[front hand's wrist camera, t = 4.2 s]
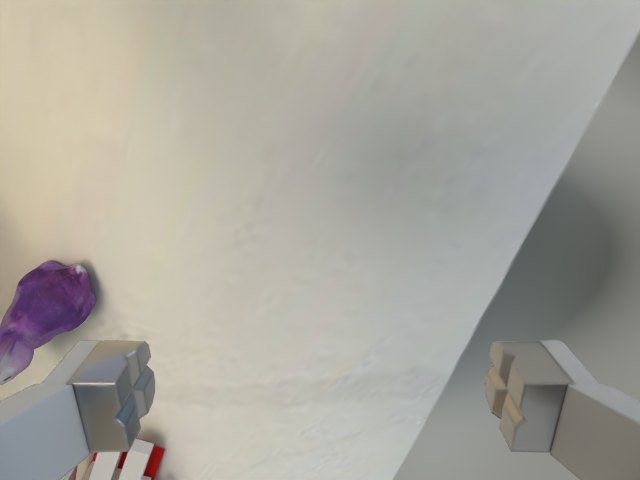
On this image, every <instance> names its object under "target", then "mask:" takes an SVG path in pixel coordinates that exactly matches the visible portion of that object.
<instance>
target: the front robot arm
mask: <svg viewBox="0 0 640 480" xmlns="http://www.w3.org/2000/svg"><path fill="white" fill-rule="evenodd" d="M489 357H490V359H491V361H492V363H493V366H492V367H491V368H490V369H489V370H488V371H487V372H486V378H485V393H486V399H487V402H488V405H489V408H490V410H491V412H492V413H493V414H494V415H495V416H497V417H498V418H500V419H501V421H500V427H499V428H500V430H501V432H502V434H503V436H504V438H505V441H506V443H507V445H508V447H509V449H510V450H511V452H547V453H550V455H551V456H553V457H554V458H555V459H556V460H557V461H559V462H560V463H561V464H562V465H563V466H565V467H566V468H567V469H568V470H569V471H570V472H572V473H573V474H574V475H575V476H576V477H577V478H579V479H580V480H640V401H638V400H636V399H634V398H632V397H630V396H628V395H626V394H624V393H622V392H620V391H618V390H616V389H614V388H612V387H610V386H608V385H599V383H598V382H597V381H596V380H595V379H594V378H593V377H592V375H591V374H590V373H589V372H588V371H587V370H586V368H585V367H584V366H583V365H582V364H581V363H580V362H579V360H578V359H577V358H576V357H575V356H574V355H573V354H572V352H571V351H570V350H569V349H568V348H567V347H566V345H565V344H564V343H563V342H561V341H559V340H542V341H513V342H493V344H492V346H491V348H490V354H489ZM150 358H151V354H150V349H149V345H148V344H147V343H146V342H145V341H110V340H104V341H102V340H83V341H79V342H77V343H76V344H75V345H74V347H73V348H72V349H71V350H70V351H69V352H68V353H67V355H66V356H65V357H64V358H63V359H62V360H61V362H60V363H59V364H58V365H57V366H56V367H55V368H54V370H53V371H52V372H51V373H50V374H49V375H48V377H47V378H46V379H45V380H44V381H43V382H42V383H41V385H32V386H30V387H28V388H26V389H24V390H22V391H20V392H18V393H16V394H14V395H12V396H10V397H8V398H6V399H4V400H2V401H0V480H60V479H61V478H63V477H64V476H65V475H66V474H67V473H69V472H70V471H71V470H72V469H73V468H75V467H76V466H77V465H78V464H79V463H80V462H82V461H83V460H84V459H85V458H86V457H88V456H89V455H90V453H93V452H128V451H130V449H131V447H132V445H133V443H134V441H135V439H136V437H137V434H138V432H139V430H140V428H141V427H140V421H139V419H140V418H142V417H143V416H145V415H146V414H147V413H148V412H149V410H150V408H151V405H152V403H153V398H154V393H155V377H154V372H153V371H152V370H151V369H150V368H149V367H148V366H147V363H148V361H149V359H150Z"/></svg>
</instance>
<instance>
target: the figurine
mask: <svg viewBox="0 0 640 480" xmlns="http://www.w3.org/2000/svg"><path fill="white" fill-rule="evenodd" d="M95 302H96V299H95V296H94V294H93V293H92V290H91V286H90V281H89V277H88V273H87V271H86V270H85V269H84V267H83V266H81V265H80V264H73V265H71V266H68V267H67V266H64V265H60V264H58V263H56V262H53V261H47V262H45V263H43V264H41V265H40V266H39V267H38V268H36V269H34V270H33V271H31V272H29V273H28V274H26V275H25V276H24V277H23V278H22V279H21V280H20V282H19V283H18V286H17V289H16V293H15V297H14V299H13V302H12V304H11V306H10V307H9V309H8V310H7V312H6V314H5V316H4V318H3V320H2V323H1V326H0V385H2V384H4V383H6V382H8V381H10V380H12V379H13V378H14V377H15V376H16V375H17V374H19V373H20V372H22V371H23V370H25V369H26V368H27V367H28V366H29V364H30V363H31V361H32V358H33V354H34V349H36V348H38V347H40V346H42V345H44V344H46V343H47V342H49V341H50V340H51V339H52V338H53V337H54V336H55V335H58V334H60V333H63V332H66V331H71V330H73V329H75V328H76V327H78V326H79V325H80V324H82V323H83V322H84V321H85V320H86V318H87V317H88V315H89V314H90V312H91V310H92V308H93V307H94V305H95Z"/></svg>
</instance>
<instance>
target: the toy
mask: <svg viewBox="0 0 640 480" xmlns="http://www.w3.org/2000/svg"><path fill="white" fill-rule="evenodd" d="M163 452H164V449H162V448H158V447H155V446H154V444H153V443H149V442H146V441H142V440H139V439H135V441H134V443H133V445H132V447H131V449H130V451H128V452H95V453H94V457H93V460H92V463H91V464H90V466H89V468H88V469H87V471H86V473H85V474H84V476H83V477H82V479H81V480H154V478H155V475H156V473H157V470H158V467H159V464H160V461H161V458H162V455H163ZM76 472H77V466H76V467H75V468H73V469H72V470H71V471H70V472H69V473H67V475H66V476H65V478H64V480H75V479H76Z"/></svg>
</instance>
